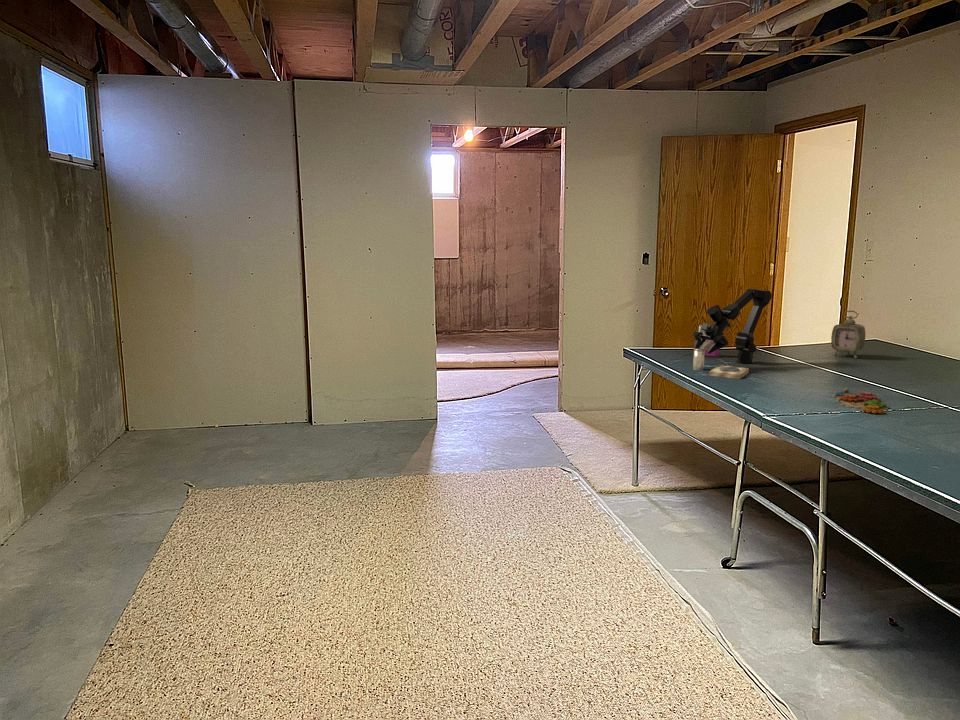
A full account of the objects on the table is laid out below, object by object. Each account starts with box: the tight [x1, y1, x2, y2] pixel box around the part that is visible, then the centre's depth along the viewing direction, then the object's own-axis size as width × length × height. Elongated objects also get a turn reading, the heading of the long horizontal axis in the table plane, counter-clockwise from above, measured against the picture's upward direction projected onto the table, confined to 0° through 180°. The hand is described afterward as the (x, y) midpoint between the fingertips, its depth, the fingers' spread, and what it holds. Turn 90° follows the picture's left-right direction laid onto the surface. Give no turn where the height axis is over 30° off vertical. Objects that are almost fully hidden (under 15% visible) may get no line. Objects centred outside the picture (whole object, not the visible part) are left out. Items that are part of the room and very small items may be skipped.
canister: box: [692, 348, 705, 371], centre depth 342 cm, size 5×5×10 cm
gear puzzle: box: [832, 387, 888, 414], centre depth 273 cm, size 31×16×4 cm, turn 165°
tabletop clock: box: [830, 310, 866, 359], centre depth 372 cm, size 14×9×25 cm, turn 43°
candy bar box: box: [698, 325, 721, 358], centre depth 377 cm, size 11×5×16 cm, turn 84°
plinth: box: [708, 365, 750, 380], centre depth 331 cm, size 14×18×2 cm
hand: (700, 351), depth 342 cm, fingers open, 9 cm apart
